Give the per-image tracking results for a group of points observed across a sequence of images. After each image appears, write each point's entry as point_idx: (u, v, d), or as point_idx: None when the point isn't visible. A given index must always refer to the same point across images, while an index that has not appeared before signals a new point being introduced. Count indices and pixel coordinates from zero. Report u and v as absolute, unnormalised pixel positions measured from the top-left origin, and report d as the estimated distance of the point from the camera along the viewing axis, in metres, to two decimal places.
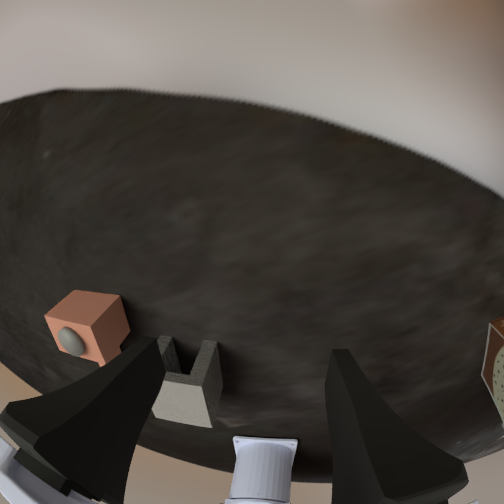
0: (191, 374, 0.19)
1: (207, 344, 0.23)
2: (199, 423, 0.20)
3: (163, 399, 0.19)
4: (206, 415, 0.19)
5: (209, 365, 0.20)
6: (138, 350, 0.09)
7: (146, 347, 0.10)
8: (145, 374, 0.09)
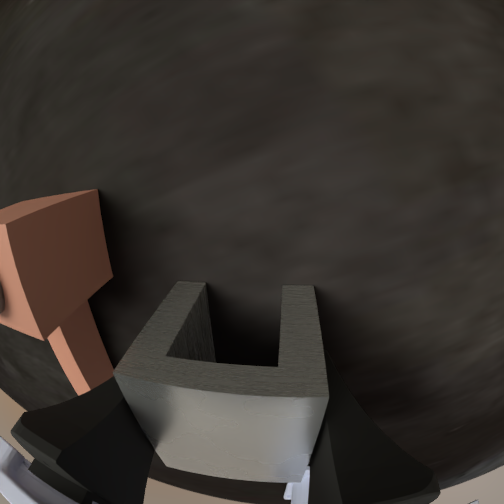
0: (283, 364, 0.07)
1: (295, 292, 0.10)
2: (273, 478, 0.08)
3: (191, 437, 0.07)
4: (302, 464, 0.07)
5: None
6: None
7: None
8: None
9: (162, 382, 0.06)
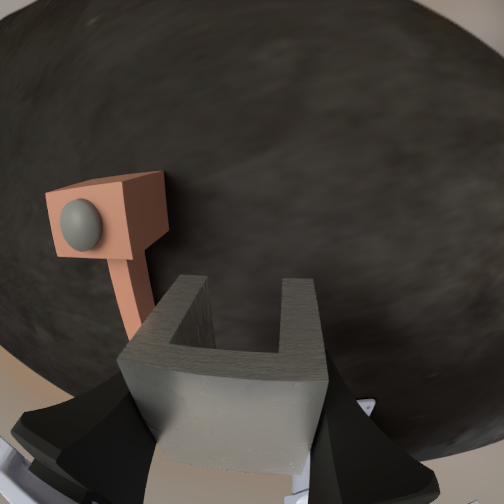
0: (283, 350, 0.07)
1: (294, 284, 0.10)
2: (274, 471, 0.08)
3: (192, 426, 0.07)
4: (302, 454, 0.07)
5: None
6: None
7: None
8: None
9: (165, 368, 0.06)
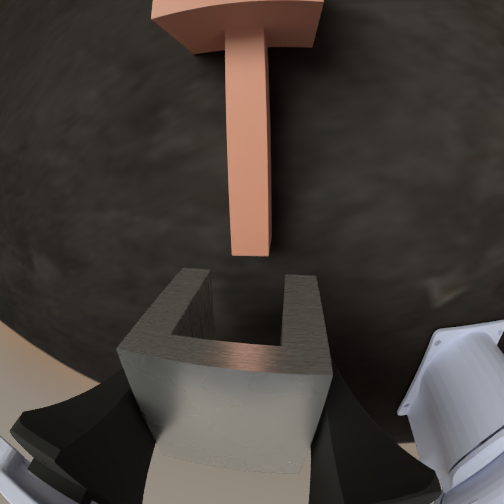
0: (287, 344, 0.07)
1: (298, 281, 0.10)
2: (271, 469, 0.08)
3: (191, 420, 0.07)
4: (301, 452, 0.07)
5: None
6: None
7: None
8: None
9: (167, 358, 0.06)
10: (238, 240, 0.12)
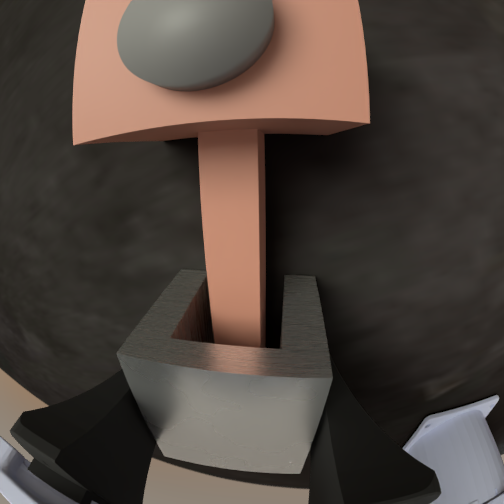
0: (287, 346, 0.07)
1: (297, 281, 0.10)
2: (272, 469, 0.08)
3: (192, 422, 0.07)
4: (302, 452, 0.07)
5: None
6: None
7: None
8: None
9: (167, 362, 0.06)
10: None
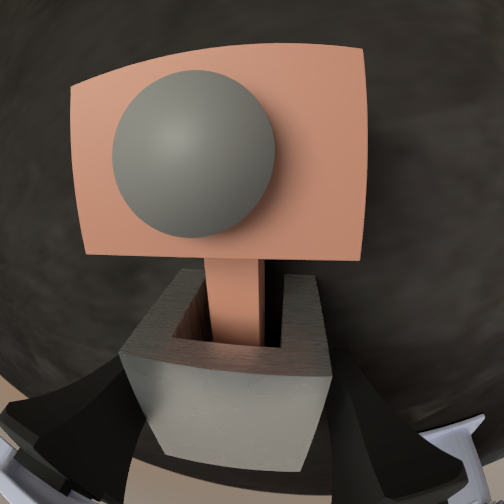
0: (287, 345, 0.07)
1: (297, 280, 0.10)
2: (272, 467, 0.08)
3: (192, 421, 0.07)
4: (302, 450, 0.07)
5: None
6: None
7: None
8: None
9: (168, 361, 0.06)
10: None
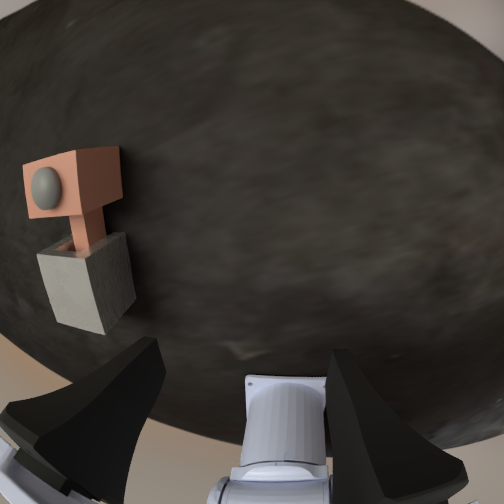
0: (82, 251, 0.16)
1: (114, 234, 0.20)
2: (92, 327, 0.17)
3: (58, 287, 0.16)
4: (95, 311, 0.17)
5: (105, 247, 0.17)
6: (138, 350, 0.09)
7: (146, 347, 0.10)
8: (145, 374, 0.09)
9: (48, 254, 0.15)
10: None
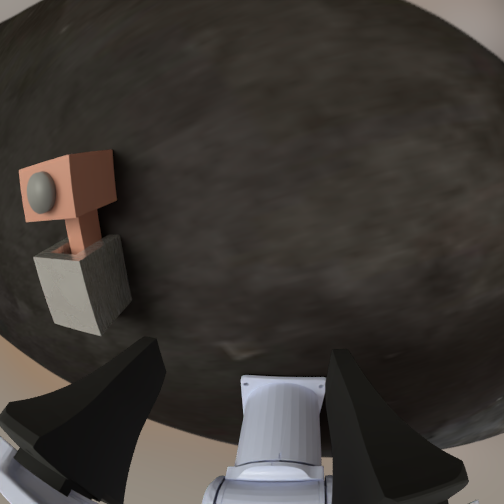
0: (78, 254, 0.16)
1: (109, 236, 0.20)
2: (88, 328, 0.17)
3: (55, 289, 0.17)
4: (91, 312, 0.17)
5: (100, 249, 0.18)
6: (138, 350, 0.09)
7: (146, 347, 0.10)
8: (145, 374, 0.09)
9: (44, 257, 0.16)
10: None
